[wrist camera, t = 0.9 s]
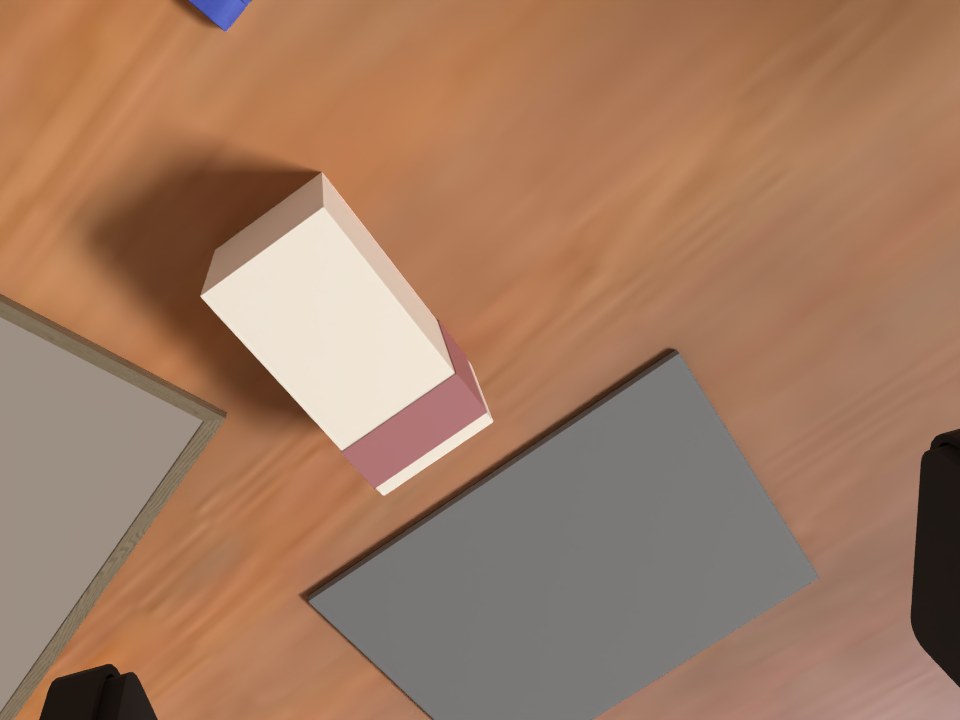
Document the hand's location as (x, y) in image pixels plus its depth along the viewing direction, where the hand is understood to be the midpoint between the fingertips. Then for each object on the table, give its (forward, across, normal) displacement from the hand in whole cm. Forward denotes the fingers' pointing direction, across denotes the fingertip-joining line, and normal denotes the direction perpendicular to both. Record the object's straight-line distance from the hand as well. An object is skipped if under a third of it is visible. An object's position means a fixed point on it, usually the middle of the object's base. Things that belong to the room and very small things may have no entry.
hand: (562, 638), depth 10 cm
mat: (+25, -6, +22) cm, 34 cm away
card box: (+25, +2, +5) cm, 26 cm away
